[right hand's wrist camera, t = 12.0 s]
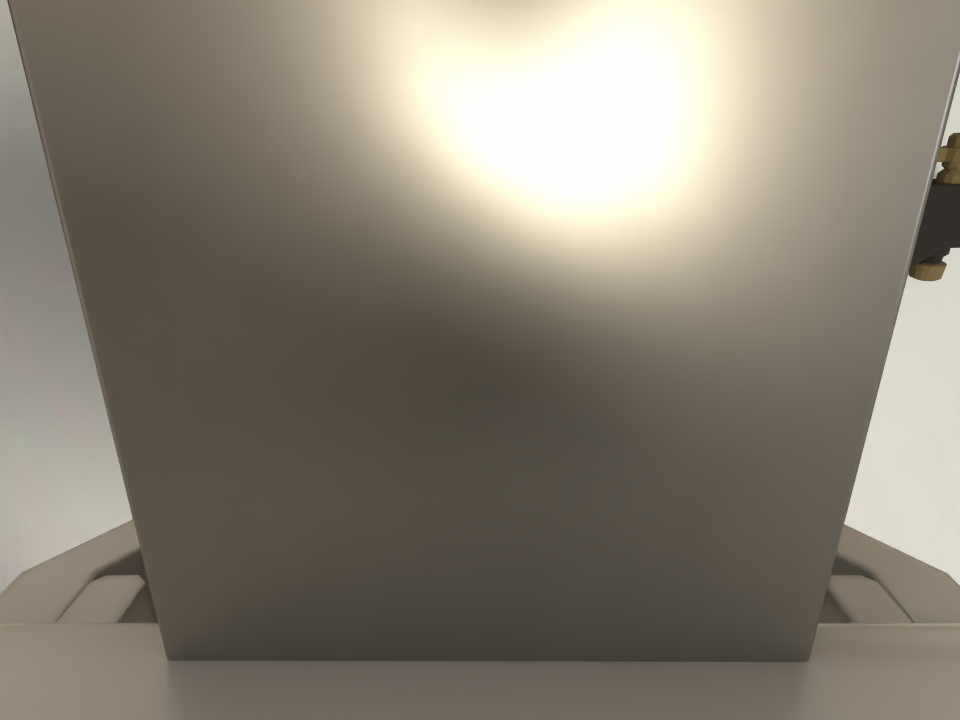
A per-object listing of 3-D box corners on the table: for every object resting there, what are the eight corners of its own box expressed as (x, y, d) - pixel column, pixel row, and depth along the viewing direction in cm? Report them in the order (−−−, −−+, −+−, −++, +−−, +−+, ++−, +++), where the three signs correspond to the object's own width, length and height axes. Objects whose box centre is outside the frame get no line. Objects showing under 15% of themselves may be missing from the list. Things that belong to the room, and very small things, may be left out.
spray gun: (872, 316, 25) (508, 219, 24) (1166, -209, 18) (670, -372, 17) (938, 361, 21) (507, 248, 20) (1345, -286, 14) (715, -500, 13)
